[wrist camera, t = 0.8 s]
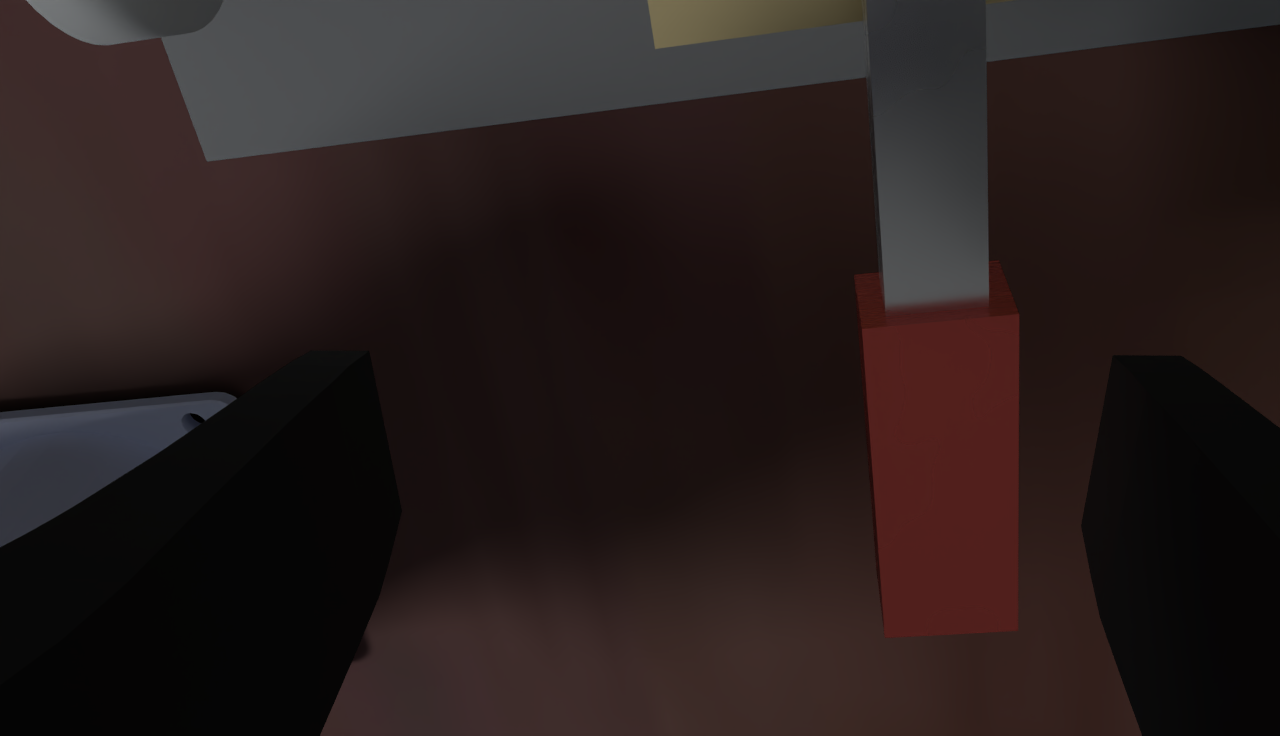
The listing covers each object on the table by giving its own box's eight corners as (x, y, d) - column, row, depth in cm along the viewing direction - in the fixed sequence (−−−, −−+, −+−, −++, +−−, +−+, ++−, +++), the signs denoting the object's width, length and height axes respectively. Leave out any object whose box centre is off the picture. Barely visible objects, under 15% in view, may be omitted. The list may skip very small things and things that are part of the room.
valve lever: (772, -375, 12) (774, -376, 10) (1028, -424, 11) (1058, -429, 10) (856, 571, 18) (862, 639, 17) (1021, 561, 17) (1040, 629, 16)
